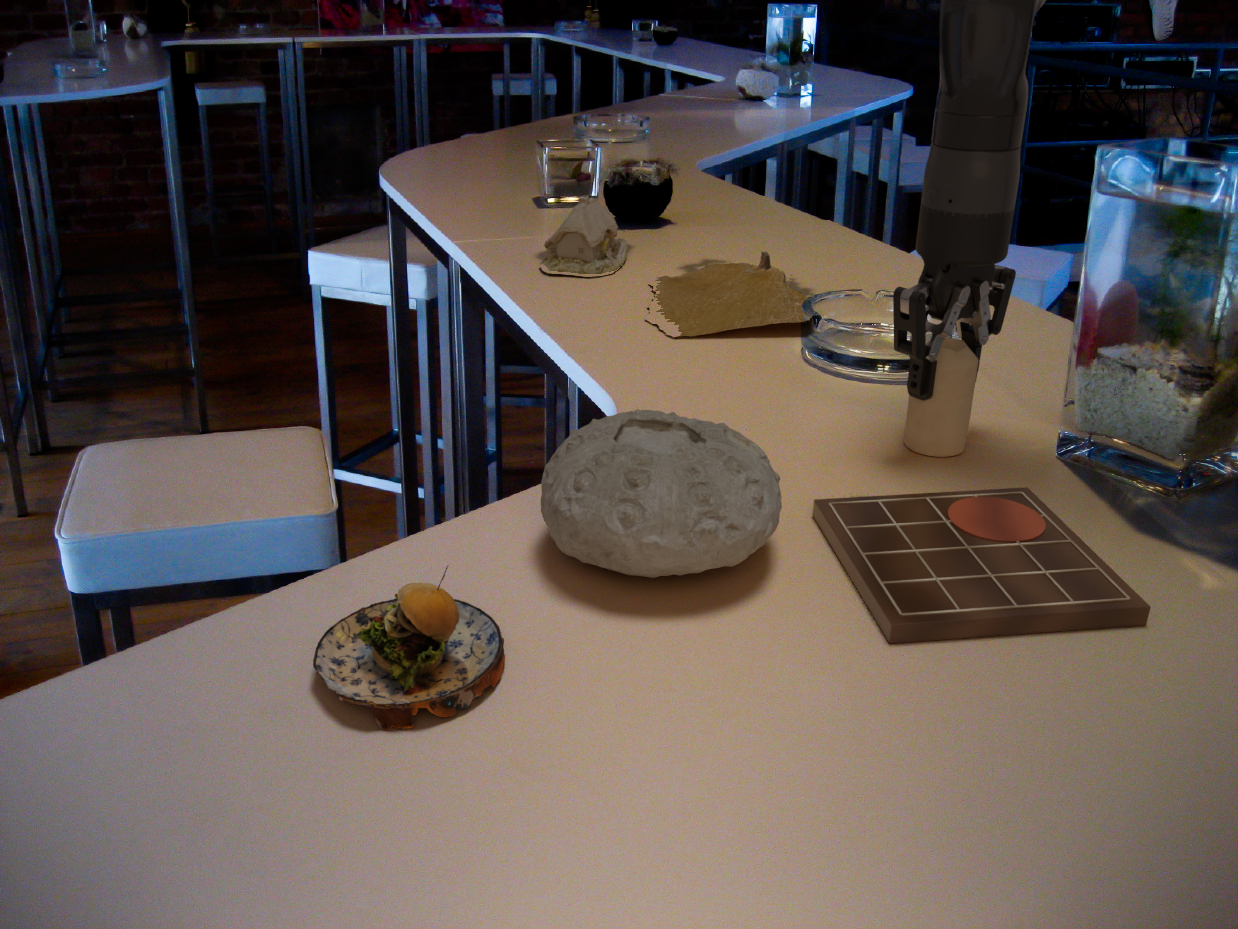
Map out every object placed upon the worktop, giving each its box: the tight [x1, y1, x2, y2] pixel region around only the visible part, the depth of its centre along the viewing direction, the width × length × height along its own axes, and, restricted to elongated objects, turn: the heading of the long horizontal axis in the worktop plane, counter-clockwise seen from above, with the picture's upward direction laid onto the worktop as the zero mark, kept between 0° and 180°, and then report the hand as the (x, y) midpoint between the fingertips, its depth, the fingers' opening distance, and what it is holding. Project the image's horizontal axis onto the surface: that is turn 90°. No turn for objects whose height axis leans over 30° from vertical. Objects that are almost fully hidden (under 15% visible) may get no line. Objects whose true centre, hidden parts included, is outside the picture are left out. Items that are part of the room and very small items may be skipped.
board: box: [812, 486, 1151, 645], centre depth 80 cm, size 18×18×2 cm
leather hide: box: [654, 251, 808, 337], centre depth 138 cm, size 29×26×5 cm
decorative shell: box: [540, 408, 783, 579], centre depth 80 cm, size 18×18×10 cm
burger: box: [312, 565, 506, 731], centre depth 67 cm, size 12×12×8 cm
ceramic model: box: [540, 194, 629, 274], centre depth 154 cm, size 14×11×10 cm
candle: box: [903, 337, 978, 458], centre depth 98 cm, size 6×6×10 cm
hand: (941, 389), depth 97 cm, fingers closed on candle, 5 cm apart
